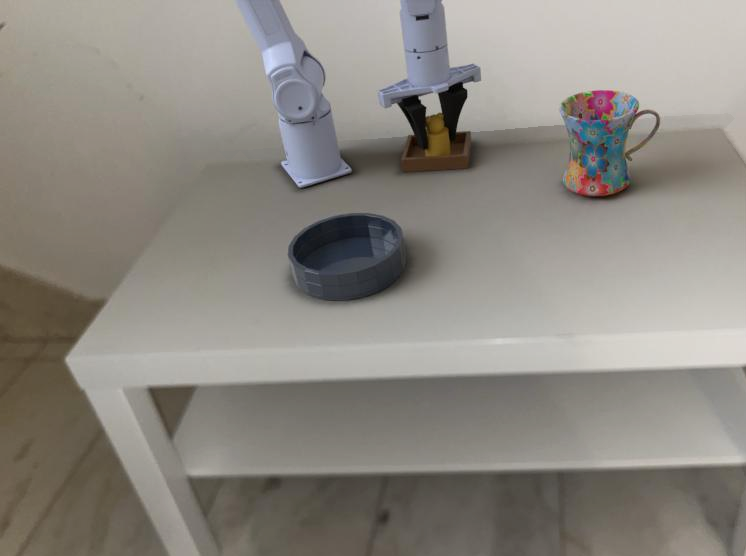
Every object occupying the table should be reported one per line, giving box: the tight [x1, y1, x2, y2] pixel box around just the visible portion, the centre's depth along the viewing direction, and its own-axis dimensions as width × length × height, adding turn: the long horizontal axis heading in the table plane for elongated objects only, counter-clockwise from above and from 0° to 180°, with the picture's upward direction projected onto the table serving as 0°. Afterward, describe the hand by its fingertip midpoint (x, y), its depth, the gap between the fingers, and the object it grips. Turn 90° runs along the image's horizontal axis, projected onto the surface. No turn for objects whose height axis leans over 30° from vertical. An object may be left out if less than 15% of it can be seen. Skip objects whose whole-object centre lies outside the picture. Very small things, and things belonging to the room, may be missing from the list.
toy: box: [425, 112, 451, 156], centre depth 108 cm, size 4×4×6 cm
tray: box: [400, 130, 472, 173], centre depth 109 cm, size 9×8×2 cm
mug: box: [558, 89, 661, 197], centre depth 95 cm, size 12×9×11 cm
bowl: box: [287, 212, 407, 302], centre depth 88 cm, size 13×13×4 cm
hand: (436, 142), depth 109 cm, fingers closed on toy, 4 cm apart
